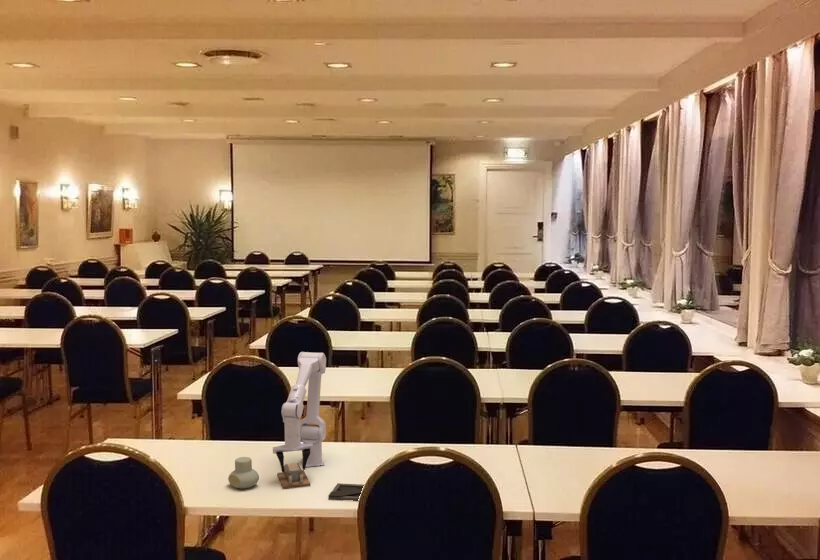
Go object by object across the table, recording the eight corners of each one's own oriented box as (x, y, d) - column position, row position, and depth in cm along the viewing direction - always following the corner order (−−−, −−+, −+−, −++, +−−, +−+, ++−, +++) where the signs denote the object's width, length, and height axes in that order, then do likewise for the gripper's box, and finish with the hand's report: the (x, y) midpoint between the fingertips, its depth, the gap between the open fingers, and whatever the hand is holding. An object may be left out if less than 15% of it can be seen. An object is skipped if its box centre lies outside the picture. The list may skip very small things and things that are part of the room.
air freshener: (225, 485, 289) (224, 458, 288) (243, 479, 295) (243, 453, 294) (243, 492, 282) (243, 465, 281) (262, 486, 288) (261, 459, 287)
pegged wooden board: (277, 475, 299) (277, 465, 299) (303, 472, 302) (303, 462, 302) (282, 489, 285) (282, 478, 284) (310, 486, 288) (310, 475, 287)
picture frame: (328, 501, 275) (379, 503, 272) (328, 495, 274) (379, 498, 272) (337, 487, 288) (386, 489, 285) (337, 482, 288) (386, 484, 285)
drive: (285, 474, 297) (284, 463, 296) (298, 473, 298) (298, 462, 298) (288, 482, 288) (288, 471, 288) (302, 481, 290) (302, 470, 289)
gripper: (274, 439, 286) (274, 475, 287) (314, 435, 290) (314, 471, 291) (271, 433, 293) (272, 469, 294) (310, 430, 297) (311, 465, 298)
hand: (293, 470), depth 293 cm, fingers open, 7 cm apart
